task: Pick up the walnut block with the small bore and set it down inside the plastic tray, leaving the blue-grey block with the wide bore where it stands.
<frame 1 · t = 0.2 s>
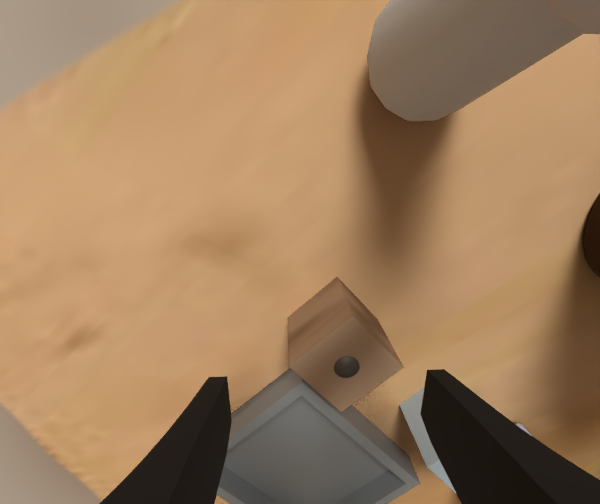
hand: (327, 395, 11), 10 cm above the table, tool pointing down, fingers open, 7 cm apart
salt shaker: (408, 68, 16), on the table
small bore block: (333, 317, 21), on the table
wide bore block: (437, 404, 24), on the table
tray: (303, 450, 25), on the table
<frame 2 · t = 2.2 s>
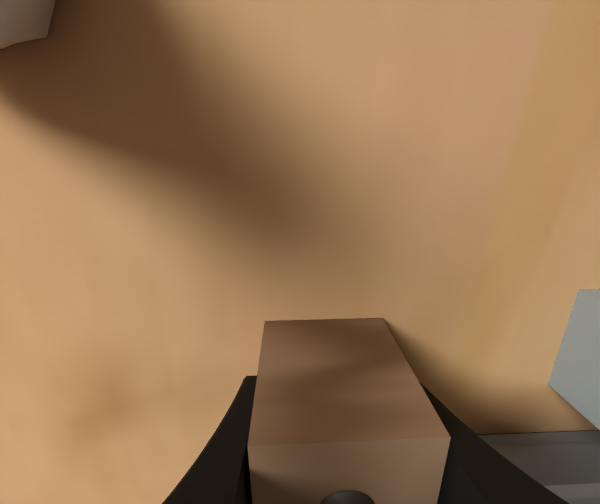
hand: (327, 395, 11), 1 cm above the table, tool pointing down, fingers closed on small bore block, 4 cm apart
small bore block: (322, 368, 12), on the table, touching gripper
when the fingers open (3 cm above the table, at t = 6.2 s): small bore block drops 1 cm, resting on tray.
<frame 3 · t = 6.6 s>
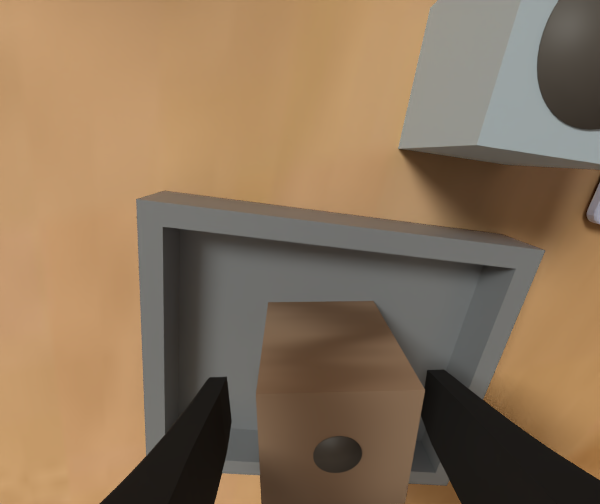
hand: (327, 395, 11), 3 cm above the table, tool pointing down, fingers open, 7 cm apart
small bore block: (319, 346, 13), point 1 cm above the table, touching tray
wide bore block: (471, 93, 11), on the table
tray: (318, 338, 14), on the table
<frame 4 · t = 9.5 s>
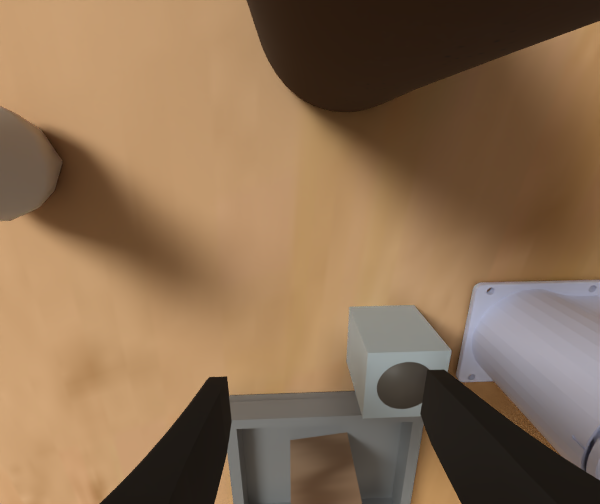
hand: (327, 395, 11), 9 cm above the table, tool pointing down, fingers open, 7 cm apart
salt shaker: (27, 160, 17), on the table
small bore block: (321, 456, 24), point 1 cm above the table, touching tray
olive oil: (349, 13, 15), on the table
wide bore block: (378, 333, 21), on the table
tray: (321, 449, 24), on the table
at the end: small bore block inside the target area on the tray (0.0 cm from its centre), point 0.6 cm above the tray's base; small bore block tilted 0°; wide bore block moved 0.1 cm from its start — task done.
